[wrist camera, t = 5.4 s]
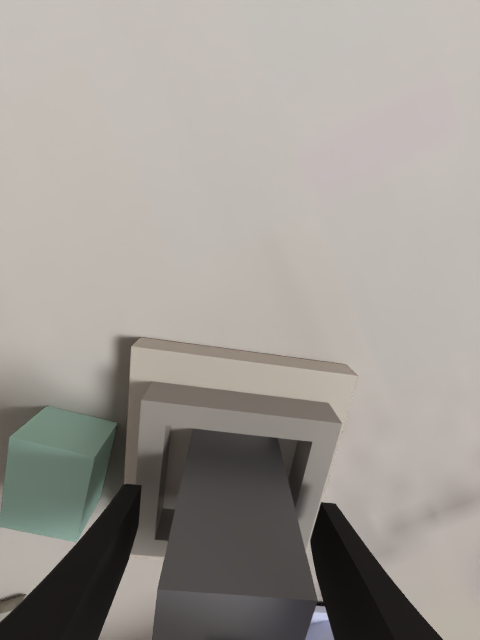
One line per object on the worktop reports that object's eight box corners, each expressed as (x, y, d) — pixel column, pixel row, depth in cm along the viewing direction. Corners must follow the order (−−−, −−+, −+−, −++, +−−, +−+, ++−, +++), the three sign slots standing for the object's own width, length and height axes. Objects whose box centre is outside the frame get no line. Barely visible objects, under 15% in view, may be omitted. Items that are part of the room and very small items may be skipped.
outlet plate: (347, 364, 13) (376, 393, 10) (297, 546, 16) (309, 605, 13) (140, 337, 12) (116, 360, 10) (128, 532, 15) (106, 591, 13)
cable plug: (119, 420, 14) (94, 456, 11) (99, 505, 15) (73, 554, 13) (50, 403, 13) (9, 436, 11) (36, 491, 15) (-3, 539, 12)
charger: (277, 437, 12) (318, 605, 7) (262, 503, 13) (287, 702, 7) (193, 427, 12) (155, 595, 6) (184, 496, 13) (145, 696, 7)
